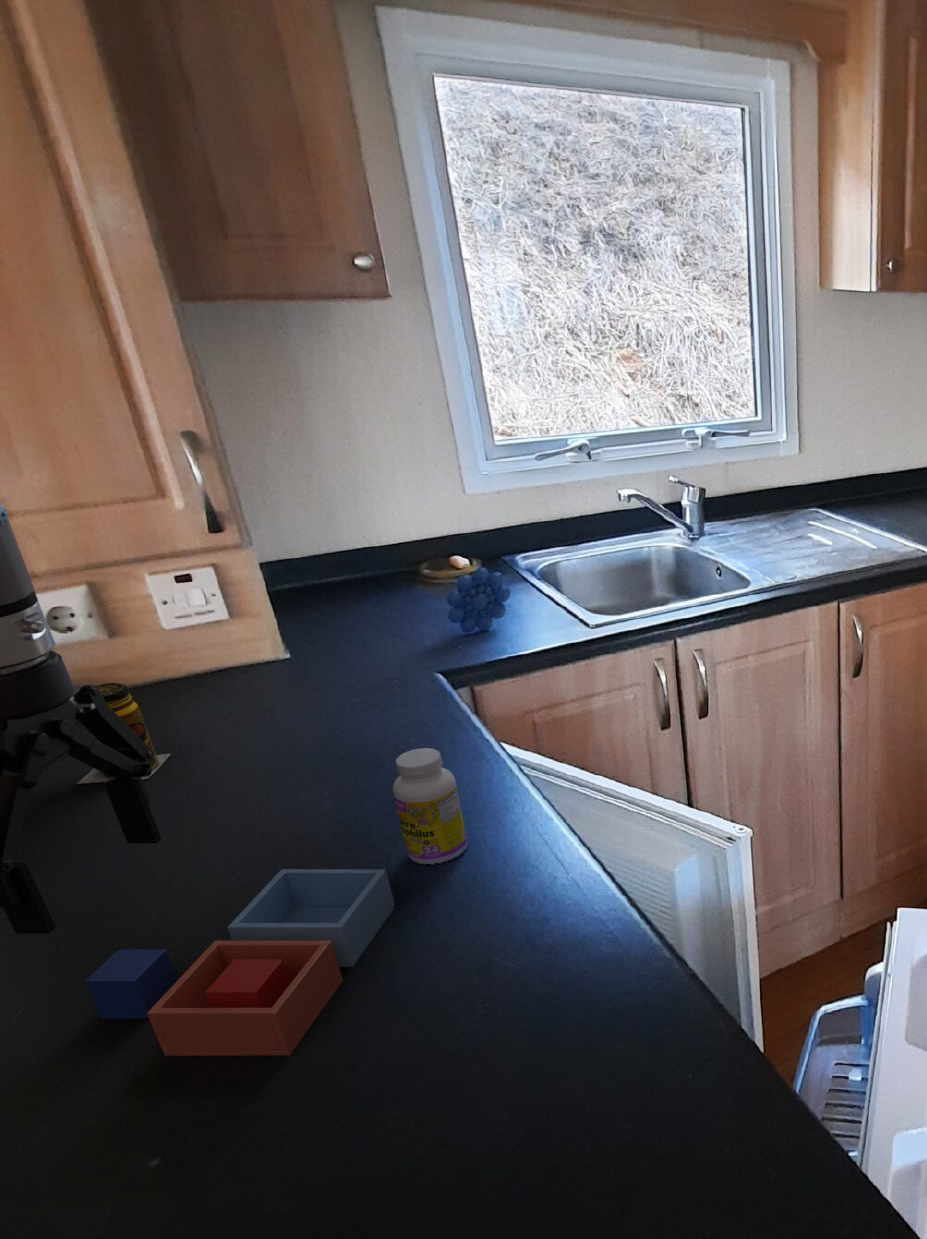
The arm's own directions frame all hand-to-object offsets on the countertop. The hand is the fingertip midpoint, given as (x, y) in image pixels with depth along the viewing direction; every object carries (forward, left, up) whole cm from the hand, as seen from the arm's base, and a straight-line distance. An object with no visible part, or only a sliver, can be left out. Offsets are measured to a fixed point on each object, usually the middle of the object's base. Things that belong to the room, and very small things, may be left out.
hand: (94, 883), depth 86 cm
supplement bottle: (+18, +26, -14) cm, 35 cm away
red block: (+12, -2, -13) cm, 18 cm away
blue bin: (+12, +10, -14) cm, 21 cm away
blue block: (0, 0, -14) cm, 14 cm away
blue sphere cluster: (-3, +102, -14) cm, 103 cm away
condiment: (-32, +46, -14) cm, 58 cm away
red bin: (+12, -2, -14) cm, 18 cm away
